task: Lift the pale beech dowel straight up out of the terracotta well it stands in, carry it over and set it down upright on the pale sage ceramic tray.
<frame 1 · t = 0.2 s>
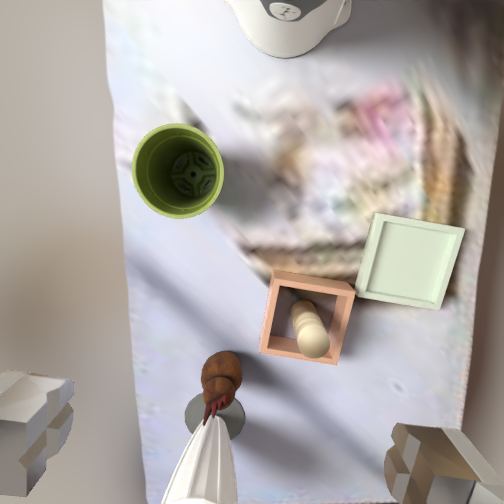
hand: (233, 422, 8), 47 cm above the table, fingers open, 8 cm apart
cup: (214, 416, 63), on the table
wooden figurine: (224, 360, 61), on the table
terracotta well: (302, 310, 58), on the table
plant pot: (193, 173, 53), on the table
beech peg: (302, 310, 58), resting in terracotta well
sage tray: (403, 259, 56), on the table
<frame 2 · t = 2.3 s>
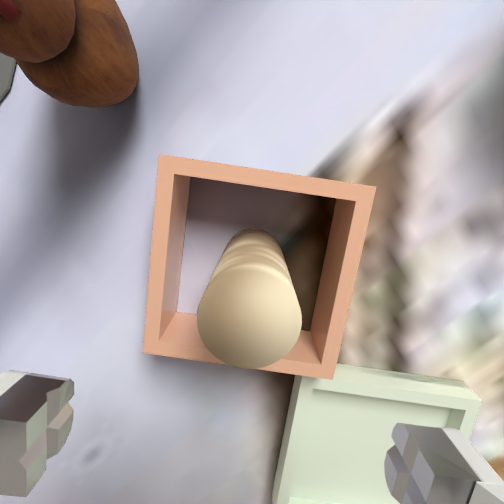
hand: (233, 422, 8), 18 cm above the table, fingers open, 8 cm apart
wooden figurine: (109, 67, 23), on the table
terracotta well: (253, 256, 26), on the table
beech peg: (253, 256, 26), resting in terracotta well
sage tray: (362, 439, 29), on the table
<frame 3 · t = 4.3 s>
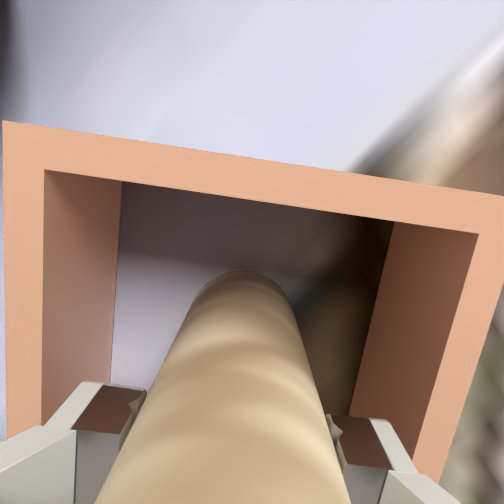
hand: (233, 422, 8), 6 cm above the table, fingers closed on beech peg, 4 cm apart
terracotta well: (241, 321, 14), on the table
beech peg: (241, 321, 14), resting in terracotta well, touching gripper
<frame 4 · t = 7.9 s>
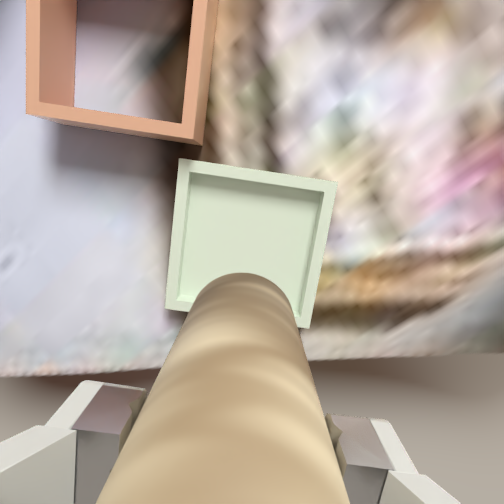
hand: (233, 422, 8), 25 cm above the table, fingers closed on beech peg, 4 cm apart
terracotta well: (138, 58, 29), on the table
beech peg: (241, 322, 14), point 19 cm above the table, touching gripper
sage tray: (248, 242, 33), on the table
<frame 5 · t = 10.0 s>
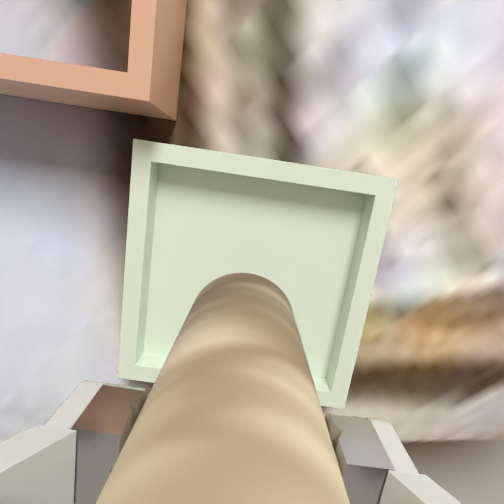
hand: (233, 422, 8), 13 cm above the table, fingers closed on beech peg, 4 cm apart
beech peg: (241, 322, 14), point 7 cm above the table, touching gripper
sage tray: (248, 273, 21), on the table
when the fingers open (9 cm above the table, at t = 11.8 s): beech peg drops 1 cm, resting on sage tray.
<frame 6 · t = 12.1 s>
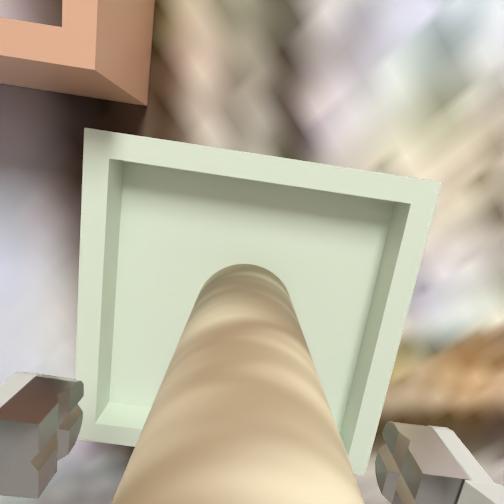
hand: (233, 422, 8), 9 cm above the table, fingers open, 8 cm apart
beech peg: (243, 309, 16), point 1 cm above the table, touching sage tray
sage tray: (242, 301, 17), on the table
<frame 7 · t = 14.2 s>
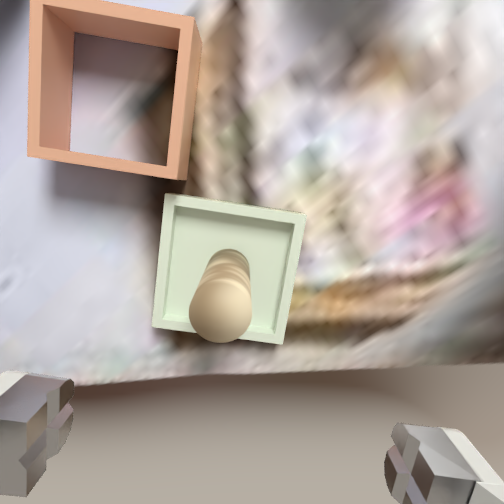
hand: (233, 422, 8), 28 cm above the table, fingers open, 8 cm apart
terracotta well: (128, 103, 33), on the table
beech peg: (228, 269, 35), point 1 cm above the table, touching sage tray
sage tray: (228, 266, 36), on the table
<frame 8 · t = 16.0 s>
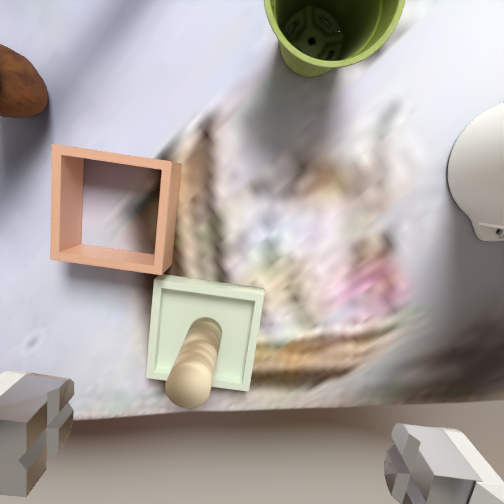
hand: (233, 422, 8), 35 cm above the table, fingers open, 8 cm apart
wooden figurine: (32, 93, 40), on the table
terracotta well: (125, 208, 42), on the table
plant pot: (311, 43, 38), on the table
beech peg: (205, 332, 45), point 1 cm above the table, touching sage tray
sage tray: (205, 329, 46), on the table
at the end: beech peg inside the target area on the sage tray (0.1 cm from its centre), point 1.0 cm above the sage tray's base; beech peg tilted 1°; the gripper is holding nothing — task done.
